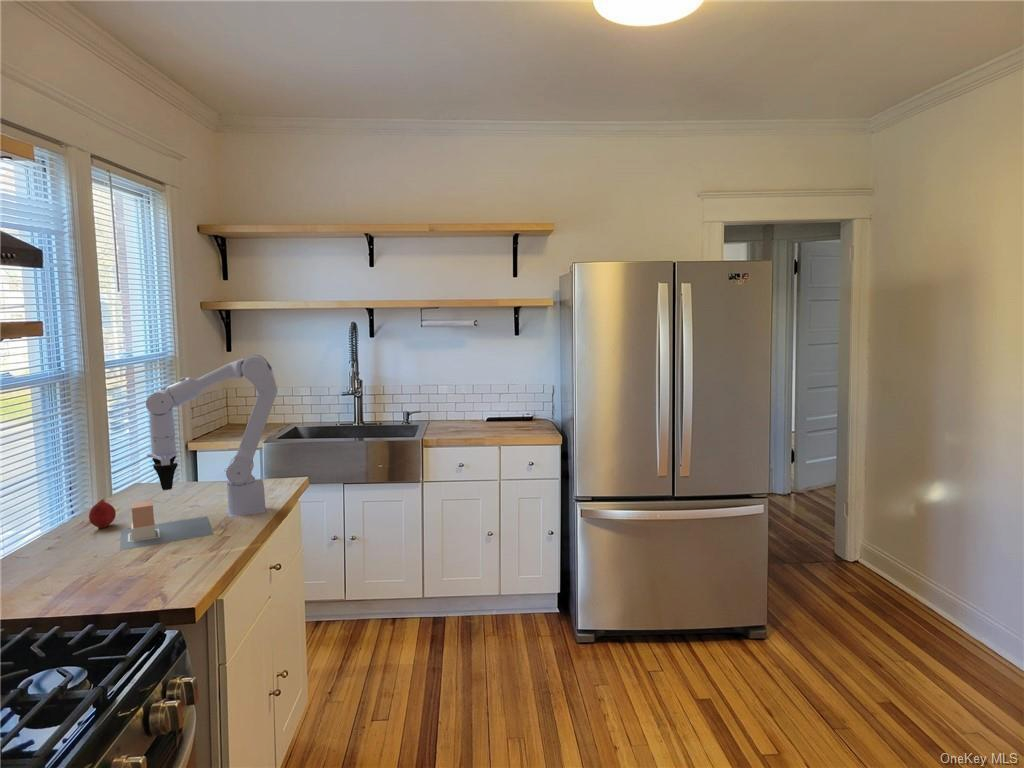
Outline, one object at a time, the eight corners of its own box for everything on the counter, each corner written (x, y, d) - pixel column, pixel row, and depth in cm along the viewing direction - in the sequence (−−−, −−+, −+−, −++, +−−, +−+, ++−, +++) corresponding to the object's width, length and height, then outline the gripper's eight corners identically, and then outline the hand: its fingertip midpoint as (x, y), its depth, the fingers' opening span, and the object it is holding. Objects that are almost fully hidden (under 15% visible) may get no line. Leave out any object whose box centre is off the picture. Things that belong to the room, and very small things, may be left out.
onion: (103, 533, 163) (101, 503, 162) (84, 532, 164) (81, 501, 163) (121, 525, 168) (119, 496, 167) (103, 524, 169) (100, 495, 168)
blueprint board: (207, 518, 174) (206, 505, 173) (213, 536, 160) (212, 522, 160) (121, 531, 164) (120, 518, 163) (120, 552, 150) (118, 537, 150)
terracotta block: (153, 519, 162) (152, 500, 161) (154, 525, 158) (152, 505, 158) (133, 522, 160) (131, 503, 159) (133, 528, 156) (131, 508, 155)
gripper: (145, 433, 174) (148, 481, 176) (146, 442, 162) (150, 495, 163) (174, 430, 178) (177, 478, 179) (177, 439, 165) (181, 491, 167)
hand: (166, 486), depth 171 cm, fingers open, 7 cm apart
